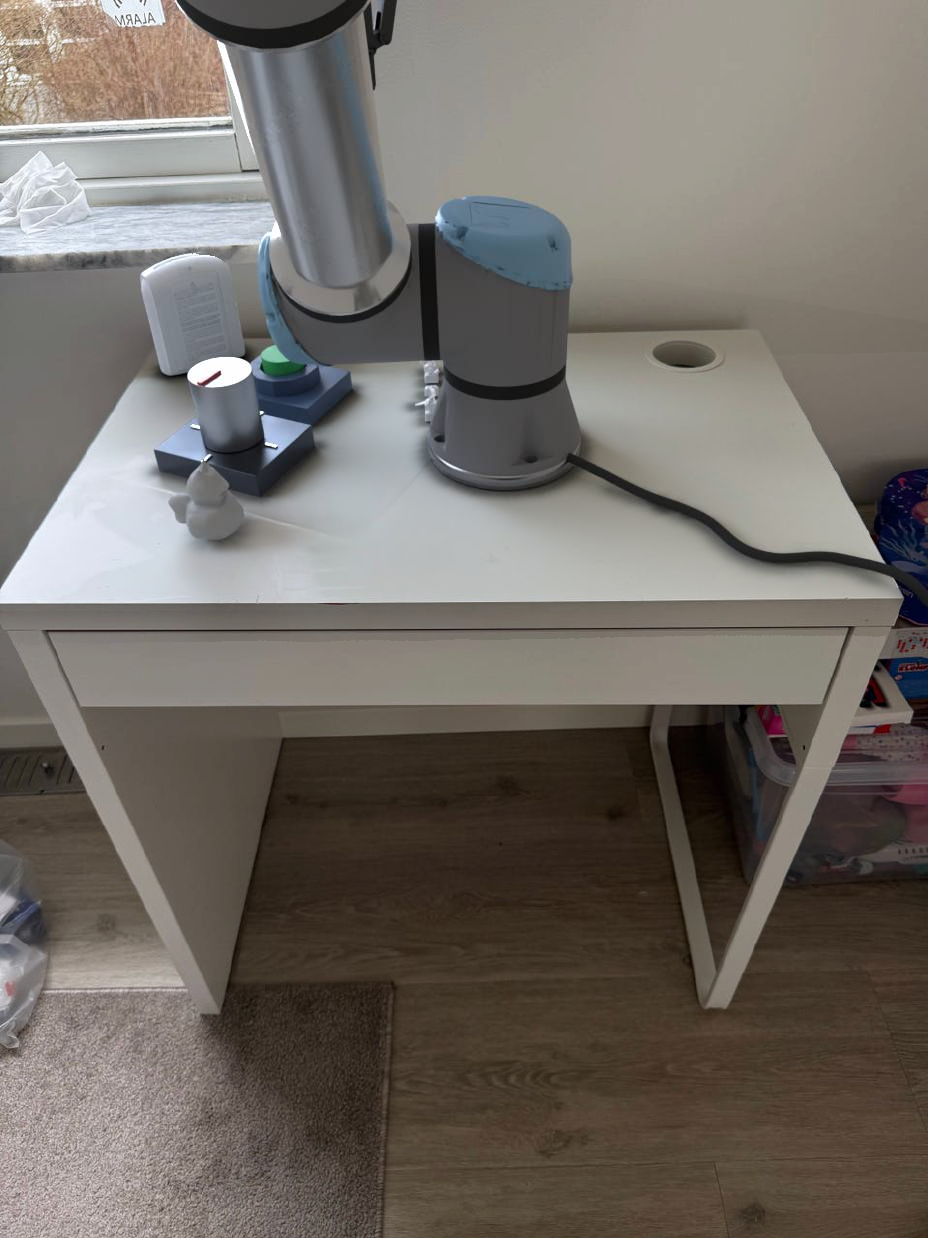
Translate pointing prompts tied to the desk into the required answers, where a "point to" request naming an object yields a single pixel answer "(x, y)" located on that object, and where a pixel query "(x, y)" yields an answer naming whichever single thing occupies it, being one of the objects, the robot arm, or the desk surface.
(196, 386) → the dial
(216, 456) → the dial panel
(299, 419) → the block
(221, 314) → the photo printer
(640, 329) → the desk surface
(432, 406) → the figurines set
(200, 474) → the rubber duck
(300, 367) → the button
